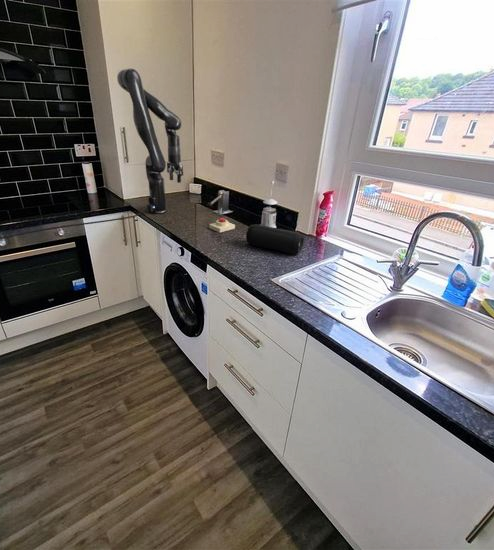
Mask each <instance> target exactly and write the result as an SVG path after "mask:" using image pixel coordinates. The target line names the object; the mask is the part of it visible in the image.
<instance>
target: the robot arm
mask: <svg viewBox="0 0 494 550" xmlns="http://www.w3.org/2000/svg"><path fill="white" fill-rule="evenodd" d="M116 78H117V84H118V85H119V86H120V88H121V89H123V90H124V91H125V92H127V93H129V96H130V99H131V102H132V114H133V115H132V117H133V123H134V126H135V129H136V132H137V134H138V136H139V138H140V141H142V143H143V144H144V146H145V148H146V149H147V151H148V156H147V157H146V158H145V164H144V165H145V172H146V178H147V181H148V191H149V193H148V194H149V196H148V203H147V204H146V207H145V208H143V209H142V210H141V211H140V212H138V213H137V214H135V215H130V216H129V215H128V216H125V217H119V218H112V219H104V220H97V221H90V222H89V221H88V222H81V223H73V224H66V225H59V226H52V227H46V228H40V229H33V230H29V231H23V232H18V233H14V234H8V235H5V236H0V240H3V239H8V238H12V237H17V236H21V235H27V234H32V233H37V232H38V233H39V232H43V231H48V230H49V231H50V230H55V229H62V228H69V227H77V226H85V225H92V224H100V223H108V222H114V221H120V220H121V221H122V220H126V219H132V218H135V217H138V216H140V215H141V214H142V213H144V212H145V211H147V210H148V211H149V212H150V213H152V214H154V215H156V214H163V213H167V206H166V187H165V178H164V177H163V175H162V174H161V173H163V172H164V171H165V170H166V172H167V173H168V174H169V180H170V181H173V180H174V173H175V174H176V182H177V183H178V184H180V183H182V176H184V166H183V165H182V164H180V163H181V161H182V159H181V156H182V155H181V154H182V153H181V143H180V142H181V141H180V140H181V139H180V136H179V135H178V134H177V131H178V130H180V129H181V128H182V121H181V118H180V117H179V116H178V115H176V114H175V113H174V112H173V111H171V110H170V109H168V108H167V107H166V105H164V103H163V102H162V101H161V100H159V98H157V97H156V96H154V95H153V94H151V93H150V92H148V91H147V90H146V89H144V87H143V82H142V78H141V75H140V73H139V72H138V71H137V70H136V69H134V68H124V69H123V68H122V69H121V70H119V72H118V73H117V77H116ZM150 112H152V114H154V116H156V118H157V119H158V120H161V121H163V122H164V129H165V134H166V137H167V161H168V162H166V160H165V157H164V154H163V153H162V150H161V147H160V143H159V141H158V137H157V134H156V130H155V127H154V123H153V119H152V117H151V115H150Z"/></svg>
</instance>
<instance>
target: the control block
mask: <svg viewBox="0 0 494 550" xmlns="http://www.w3.org/2000/svg"><path fill="white" fill-rule="evenodd" d="M208 228H209V229H211V230H213V231H215V232H217V233H223V232H227V231H232V230H235V229H236V224H234V223H232V222H229V221H228V220H227V219H226V222H224V223H221V222H219V219H216V221H215V222H213V223H209V224H208Z"/></svg>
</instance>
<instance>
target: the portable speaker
mask: <svg viewBox="0 0 494 550" xmlns="http://www.w3.org/2000/svg"><path fill="white" fill-rule="evenodd" d="M245 240H246V242H247V243H249V244H251V245H253V246H257V247H260V248H265V249H269V250H273V251H278V252H280V253H281V252H282V253H285V254H289V255H294V254H295V255H296V254H300V253H301V251H302V249H303V246H304V243H305V236H304V234H301V233H300V232H297V231H293V230H287V229H282V228H277V227H276V228H273V227H268V226H263V225H260V224H257V223H255V224H250V225H249V226H248V228H247V230H246V234H245Z"/></svg>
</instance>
